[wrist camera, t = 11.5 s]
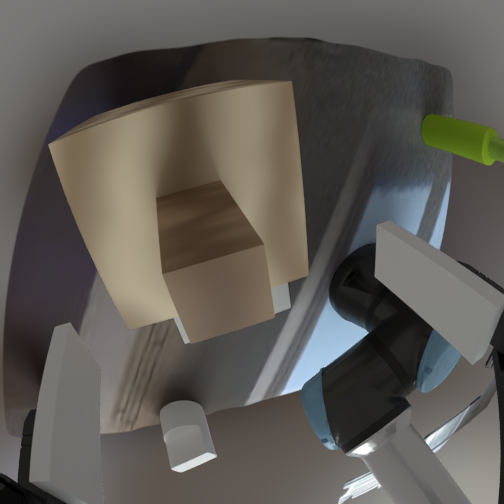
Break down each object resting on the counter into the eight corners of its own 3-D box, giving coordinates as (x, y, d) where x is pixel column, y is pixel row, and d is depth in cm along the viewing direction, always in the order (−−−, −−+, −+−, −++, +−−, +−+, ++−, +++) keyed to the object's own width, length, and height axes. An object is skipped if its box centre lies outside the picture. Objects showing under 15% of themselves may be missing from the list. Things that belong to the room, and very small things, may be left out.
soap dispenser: (436, 104, 43) (533, 128, 26) (443, 139, 47) (534, 171, 30) (417, 113, 43) (519, 139, 26) (424, 150, 47) (519, 186, 30)
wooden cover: (230, 80, 29) (376, 89, 10) (251, 201, 37) (362, 346, 18) (94, 115, 27) (-15, 192, 8) (132, 236, 35) (133, 420, 16)
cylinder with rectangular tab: (184, 394, 54) (197, 447, 44) (211, 411, 59) (227, 459, 49) (150, 413, 54) (158, 464, 44) (178, 429, 59) (190, 476, 48)
